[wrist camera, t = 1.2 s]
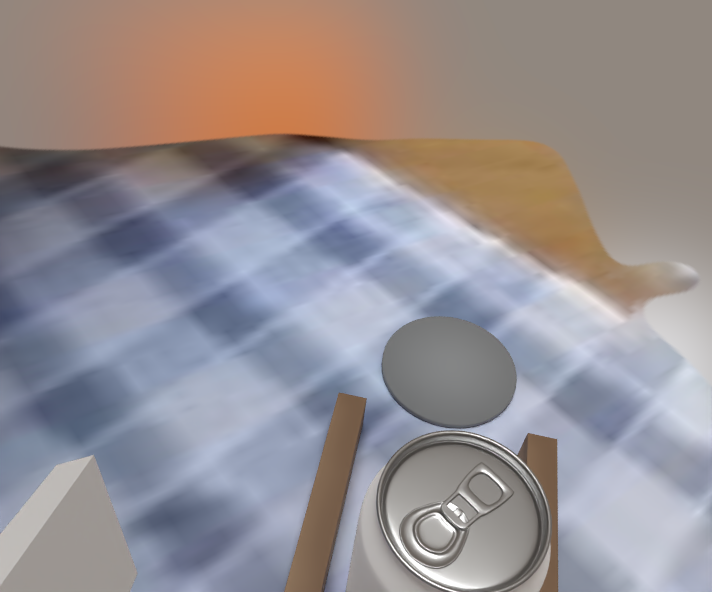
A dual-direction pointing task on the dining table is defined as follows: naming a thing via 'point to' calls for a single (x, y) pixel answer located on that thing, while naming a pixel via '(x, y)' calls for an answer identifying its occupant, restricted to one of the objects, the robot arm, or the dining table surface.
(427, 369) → the felt pad
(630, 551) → the dining table surface
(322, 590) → the u-shaped wooden frame
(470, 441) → the can
